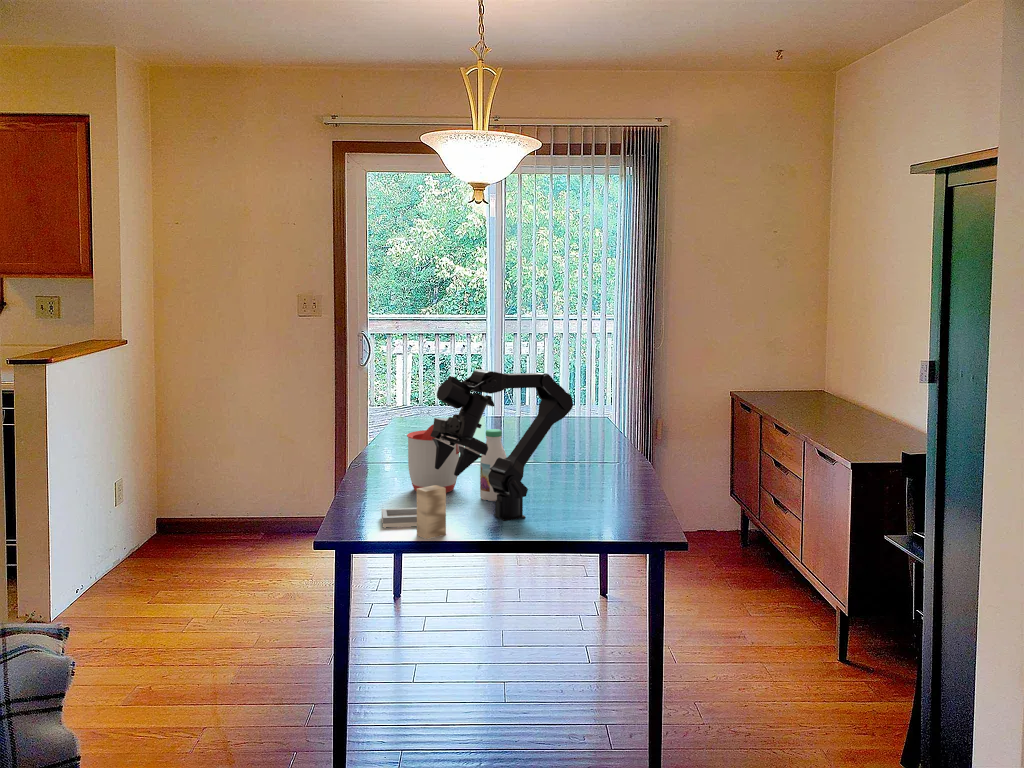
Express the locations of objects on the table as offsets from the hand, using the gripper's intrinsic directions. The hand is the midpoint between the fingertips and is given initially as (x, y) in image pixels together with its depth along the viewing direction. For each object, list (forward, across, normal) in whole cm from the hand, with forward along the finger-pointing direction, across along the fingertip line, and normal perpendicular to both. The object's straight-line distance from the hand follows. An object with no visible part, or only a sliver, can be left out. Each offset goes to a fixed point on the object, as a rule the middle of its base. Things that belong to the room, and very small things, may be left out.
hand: (445, 472), depth 240 cm
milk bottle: (0, -19, +32) cm, 37 cm away
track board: (+15, -11, +4) cm, 19 cm away
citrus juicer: (+4, -36, +24) cm, 44 cm away
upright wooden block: (+16, +2, +2) cm, 16 cm away
